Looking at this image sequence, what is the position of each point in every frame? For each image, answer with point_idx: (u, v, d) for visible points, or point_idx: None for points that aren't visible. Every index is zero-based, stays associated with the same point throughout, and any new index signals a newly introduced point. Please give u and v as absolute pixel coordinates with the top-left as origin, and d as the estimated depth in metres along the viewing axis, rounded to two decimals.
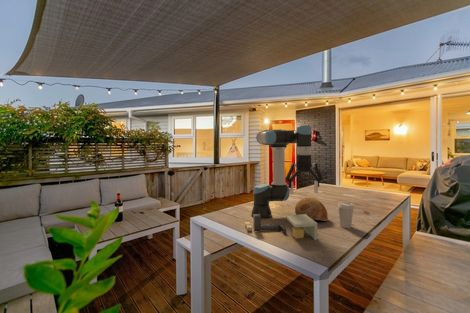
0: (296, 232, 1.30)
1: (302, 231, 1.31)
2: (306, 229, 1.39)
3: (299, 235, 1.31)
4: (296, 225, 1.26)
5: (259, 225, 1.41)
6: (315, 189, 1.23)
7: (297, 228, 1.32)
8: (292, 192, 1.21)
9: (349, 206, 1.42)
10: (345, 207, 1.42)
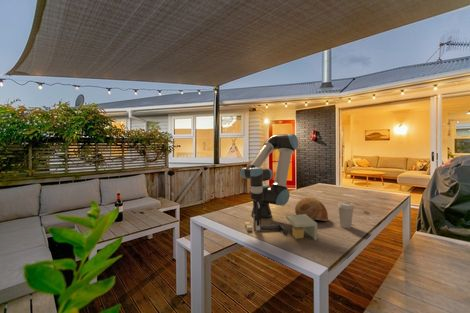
0: (296, 232, 1.30)
1: (302, 231, 1.31)
2: (306, 229, 1.39)
3: (299, 235, 1.31)
4: (296, 225, 1.26)
5: None
6: None
7: (297, 228, 1.32)
8: None
9: (349, 206, 1.42)
10: (345, 207, 1.42)
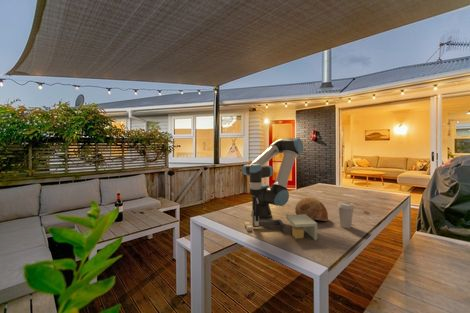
0: (296, 232, 1.30)
1: (302, 231, 1.31)
2: (306, 229, 1.39)
3: (299, 235, 1.31)
4: (296, 225, 1.26)
5: None
6: None
7: (297, 228, 1.32)
8: None
9: (349, 206, 1.42)
10: (345, 207, 1.42)
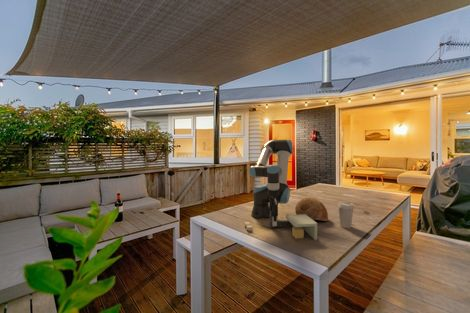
0: (296, 232, 1.30)
1: (302, 231, 1.31)
2: (306, 229, 1.39)
3: (299, 235, 1.31)
4: (296, 225, 1.26)
5: None
6: None
7: (297, 228, 1.32)
8: None
9: (349, 206, 1.42)
10: (345, 207, 1.42)
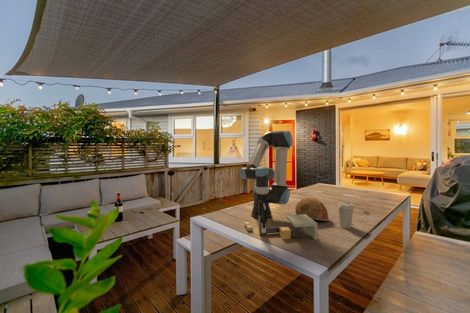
0: (283, 232, 1.29)
1: (289, 232, 1.30)
2: (306, 229, 1.39)
3: (286, 236, 1.30)
4: (296, 225, 1.26)
5: None
6: None
7: (284, 229, 1.32)
8: None
9: (349, 206, 1.42)
10: (345, 207, 1.42)
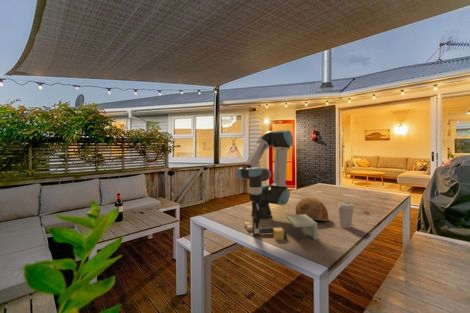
0: (276, 233, 1.29)
1: (282, 232, 1.29)
2: (306, 229, 1.39)
3: (279, 236, 1.29)
4: (296, 225, 1.26)
5: None
6: None
7: (277, 229, 1.31)
8: None
9: (349, 206, 1.42)
10: (345, 207, 1.42)
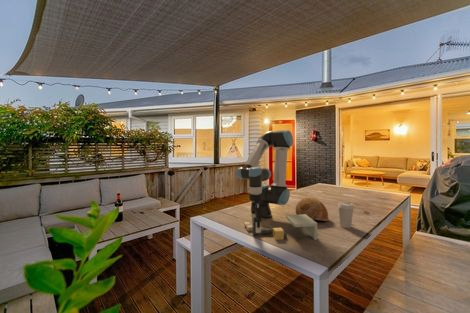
0: (276, 233, 1.29)
1: (282, 232, 1.29)
2: (306, 229, 1.39)
3: (279, 236, 1.29)
4: (296, 225, 1.26)
5: None
6: None
7: (277, 229, 1.31)
8: None
9: (349, 206, 1.42)
10: (345, 207, 1.42)
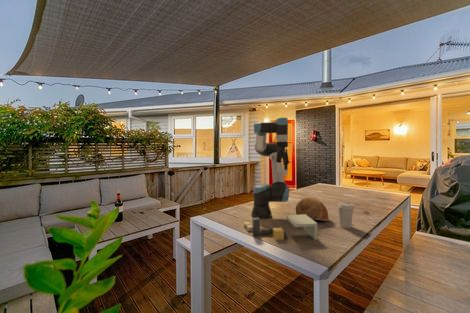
0: (276, 233, 1.29)
1: (282, 232, 1.29)
2: (306, 229, 1.39)
3: (279, 236, 1.29)
4: (296, 225, 1.26)
5: (258, 229, 1.34)
6: None
7: (277, 229, 1.31)
8: (277, 170, 1.57)
9: (349, 206, 1.42)
10: (345, 207, 1.42)
